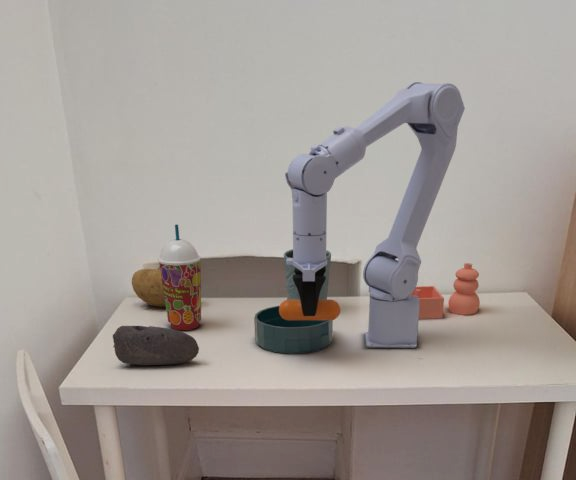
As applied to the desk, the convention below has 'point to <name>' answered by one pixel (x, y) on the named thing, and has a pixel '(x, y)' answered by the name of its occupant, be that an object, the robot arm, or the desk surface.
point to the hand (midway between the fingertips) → (309, 312)
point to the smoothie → (181, 283)
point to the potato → (149, 286)
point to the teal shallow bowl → (290, 333)
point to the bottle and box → (459, 301)
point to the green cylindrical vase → (289, 271)
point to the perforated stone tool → (153, 345)
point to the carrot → (294, 312)
